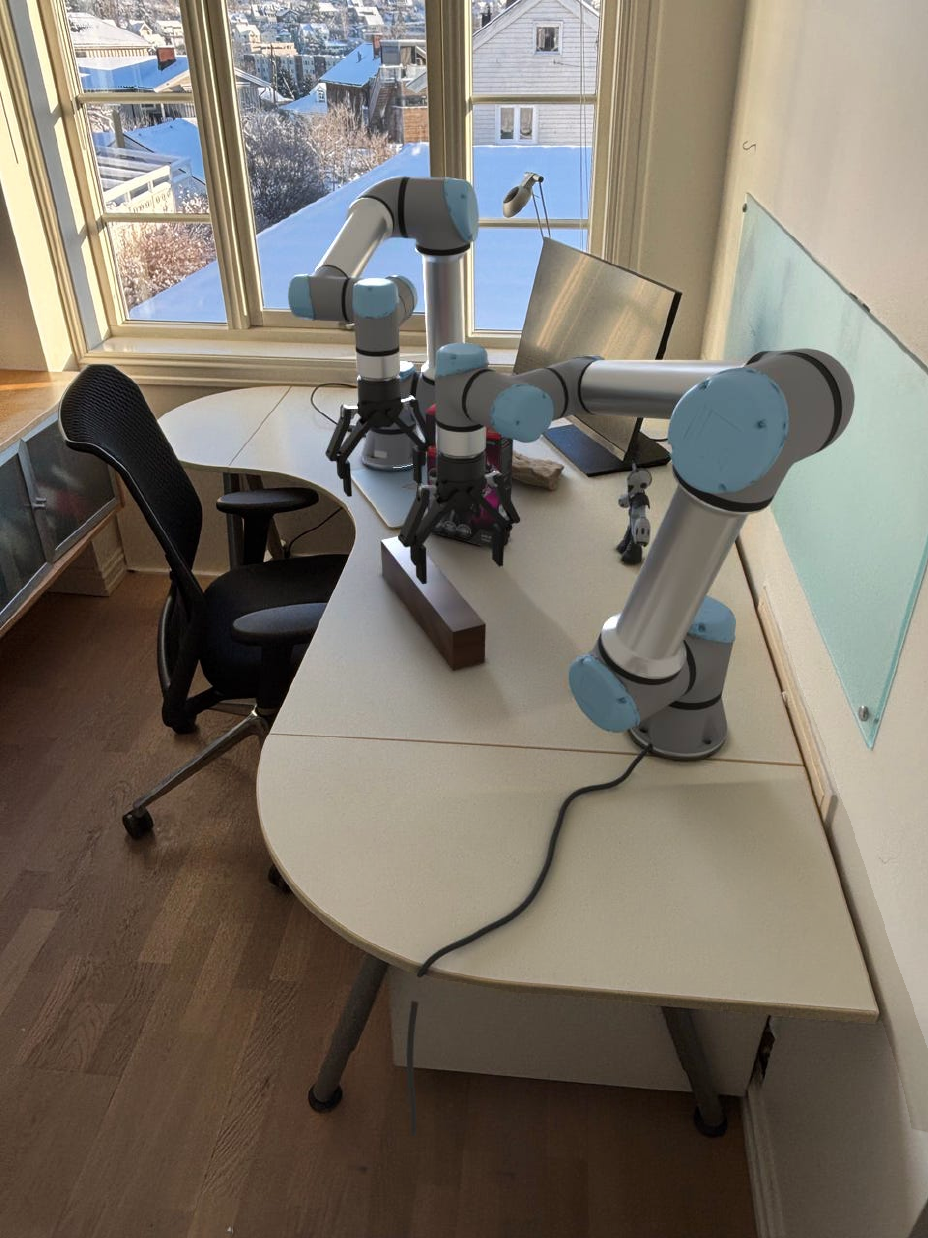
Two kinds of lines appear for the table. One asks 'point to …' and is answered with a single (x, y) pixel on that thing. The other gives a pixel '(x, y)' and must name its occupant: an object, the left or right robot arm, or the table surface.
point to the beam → (435, 607)
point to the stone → (535, 470)
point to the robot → (635, 516)
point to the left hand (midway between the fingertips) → (383, 487)
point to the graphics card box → (475, 519)
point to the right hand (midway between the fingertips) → (460, 571)
